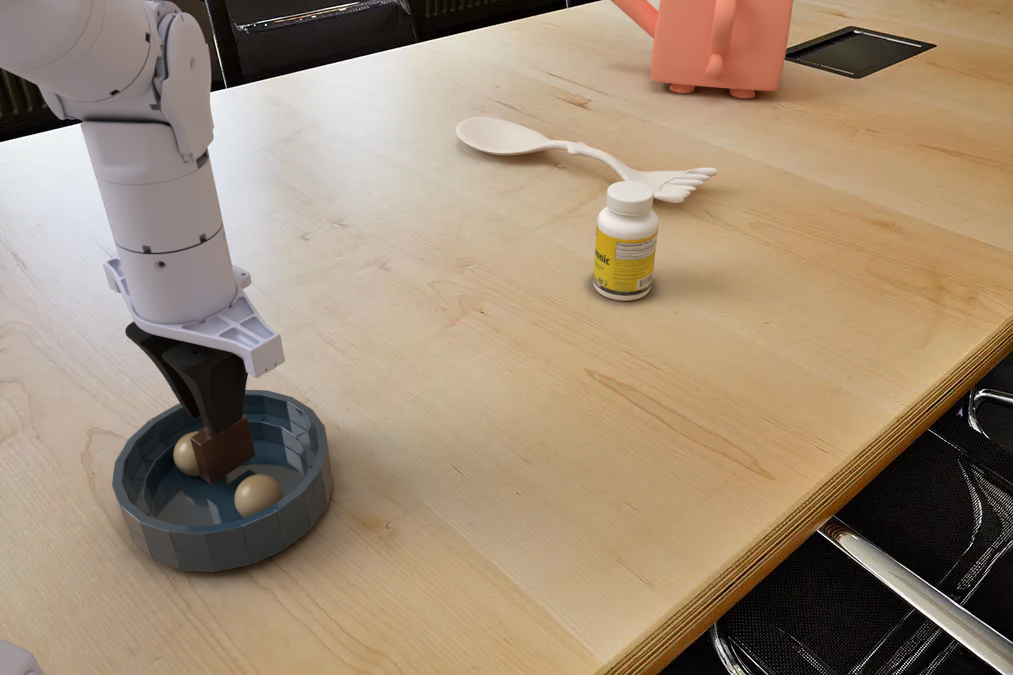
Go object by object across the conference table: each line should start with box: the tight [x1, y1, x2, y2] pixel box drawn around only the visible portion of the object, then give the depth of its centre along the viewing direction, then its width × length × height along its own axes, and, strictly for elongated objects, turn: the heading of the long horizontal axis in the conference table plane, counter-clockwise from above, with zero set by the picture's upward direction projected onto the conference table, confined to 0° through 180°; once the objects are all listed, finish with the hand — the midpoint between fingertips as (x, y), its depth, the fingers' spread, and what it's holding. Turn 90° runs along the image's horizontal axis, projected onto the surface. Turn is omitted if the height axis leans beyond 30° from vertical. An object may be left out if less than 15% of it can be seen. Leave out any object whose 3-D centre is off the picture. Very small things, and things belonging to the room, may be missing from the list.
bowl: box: [111, 389, 334, 572], centre depth 56 cm, size 13×13×4 cm
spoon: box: [455, 116, 718, 204], centre depth 99 cm, size 9×32×4 cm, turn 54°
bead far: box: [173, 432, 200, 476], centre depth 58 cm, size 3×3×3 cm
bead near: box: [235, 474, 284, 518], centre depth 54 cm, size 3×3×3 cm
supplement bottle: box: [592, 180, 659, 302], centre depth 76 cm, size 5×5×10 cm
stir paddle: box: [190, 413, 255, 485], centre depth 55 cm, size 4×2×9 cm, turn 141°
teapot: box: [610, 0, 794, 99], centre depth 121 cm, size 25×23×18 cm
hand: (215, 416), depth 55 cm, fingers closed on stir paddle, 2 cm apart
